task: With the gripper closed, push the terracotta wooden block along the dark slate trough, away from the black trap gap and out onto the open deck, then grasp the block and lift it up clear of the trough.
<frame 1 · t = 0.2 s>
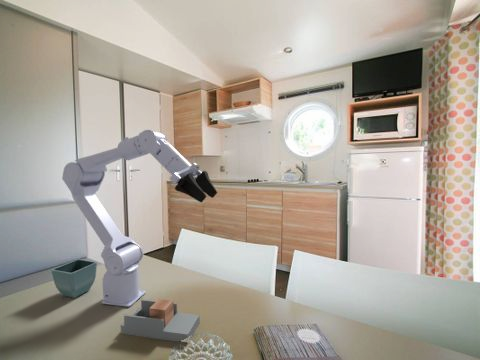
hand: (209, 197, 64), 31 cm above the table, tool tilted 45°, fingers open, 7 cm apart
slate trough: (163, 328, 58), on the table
terracotta block: (162, 320, 58), point 2 cm above the table, touching slate trough
flower pot: (76, 293, 76), on the table
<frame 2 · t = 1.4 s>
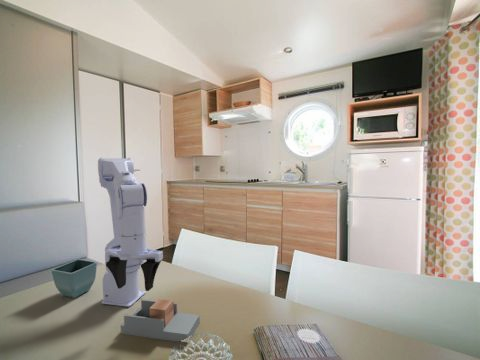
hand: (135, 287, 59), 10 cm above the table, tool pointing down, fingers open, 7 cm apart
nothing on the table moved.
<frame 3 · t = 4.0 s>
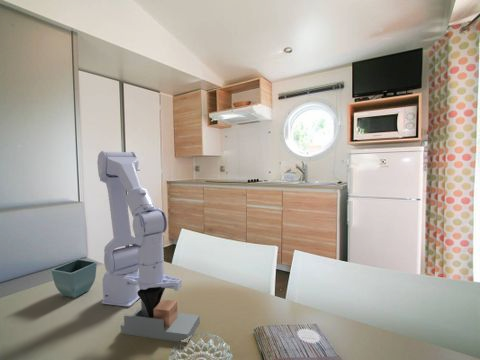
hand: (153, 315, 59), 3 cm above the table, tool pointing down, fingers closed
terracotta block: (166, 320, 58), point 2 cm above the table, touching gripper, slate trough
everything else where it was.
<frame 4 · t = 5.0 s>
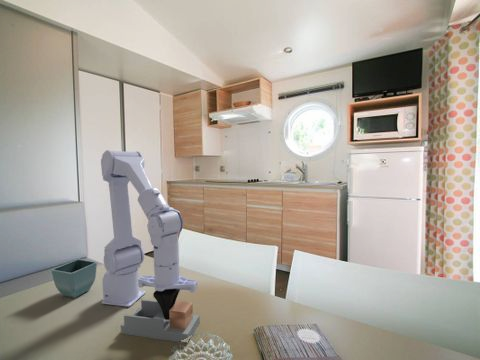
hand: (168, 317, 58), 3 cm above the table, tool pointing down, fingers closed
terracotta block: (181, 322, 57), point 2 cm above the table, touching gripper, slate trough
everything else where it was.
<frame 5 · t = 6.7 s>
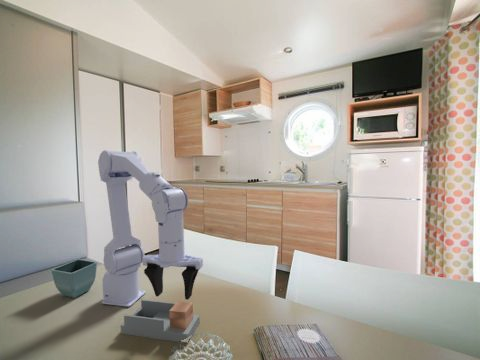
hand: (173, 295, 57), 8 cm above the table, tool pointing down, fingers open, 7 cm apart
terracotta block: (181, 322, 57), point 2 cm above the table, touching slate trough
everything else where it was.
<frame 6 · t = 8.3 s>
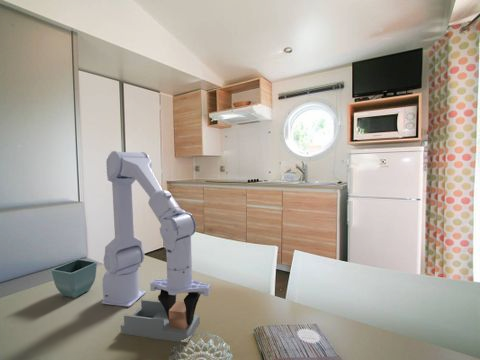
hand: (181, 321, 57), 2 cm above the table, tool pointing down, fingers closed on terracotta block, 4 cm apart
terracotta block: (181, 322, 57), point 2 cm above the table, touching gripper, slate trough
everything else where it was.
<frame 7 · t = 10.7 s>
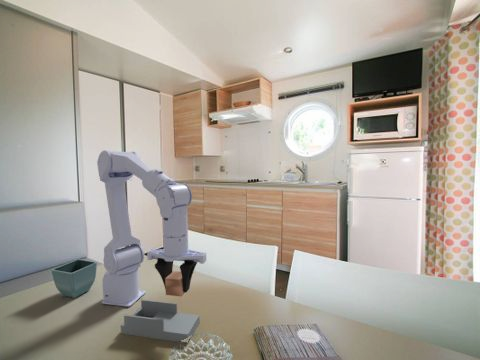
hand: (177, 289, 58), 9 cm above the table, tool pointing down, fingers closed on terracotta block, 4 cm apart
terracotta block: (177, 291, 58), point 9 cm above the table, touching gripper
everything else where it was.
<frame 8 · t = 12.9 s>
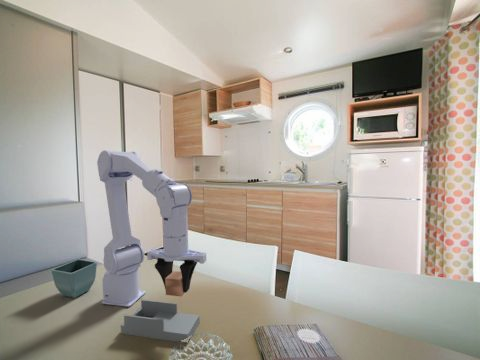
hand: (177, 289, 58), 9 cm above the table, tool pointing down, fingers closed on terracotta block, 4 cm apart
terracotta block: (177, 291, 58), point 9 cm above the table, touching gripper
everything else where it was.
at the end: the gripper is holding terracotta block; terracotta block point 9.0 cm above the table; terracotta block inside the target area (1.1 cm from its centre), point 9.0 cm above the table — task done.
